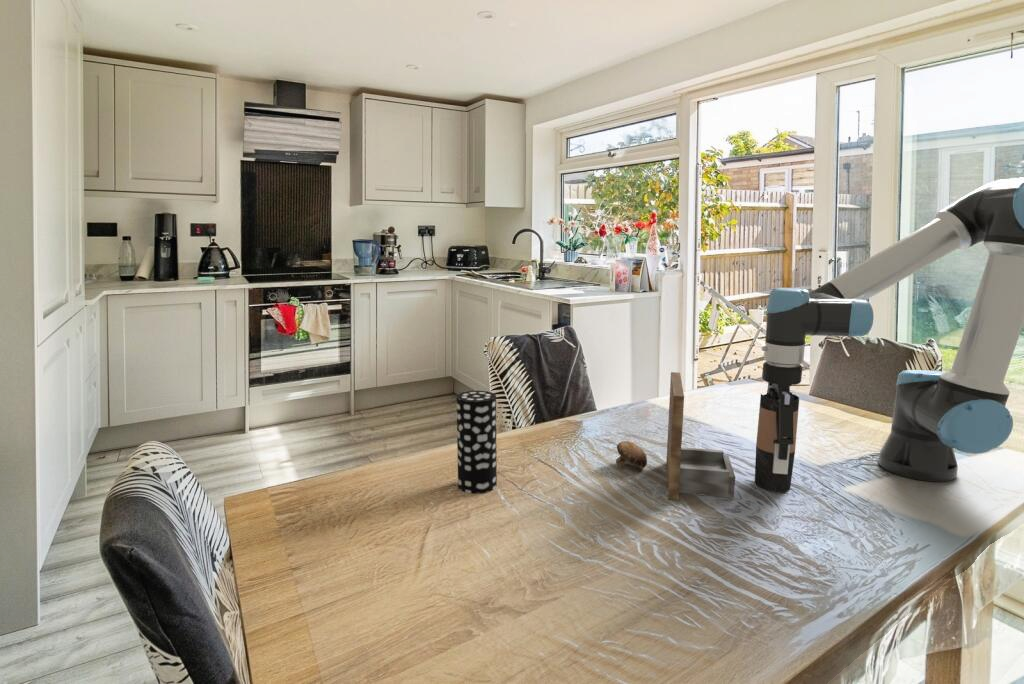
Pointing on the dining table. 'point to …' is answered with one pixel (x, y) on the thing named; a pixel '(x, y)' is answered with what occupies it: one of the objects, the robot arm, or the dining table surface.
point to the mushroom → (630, 455)
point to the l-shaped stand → (693, 457)
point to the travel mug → (772, 447)
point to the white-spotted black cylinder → (476, 441)
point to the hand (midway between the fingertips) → (774, 461)
